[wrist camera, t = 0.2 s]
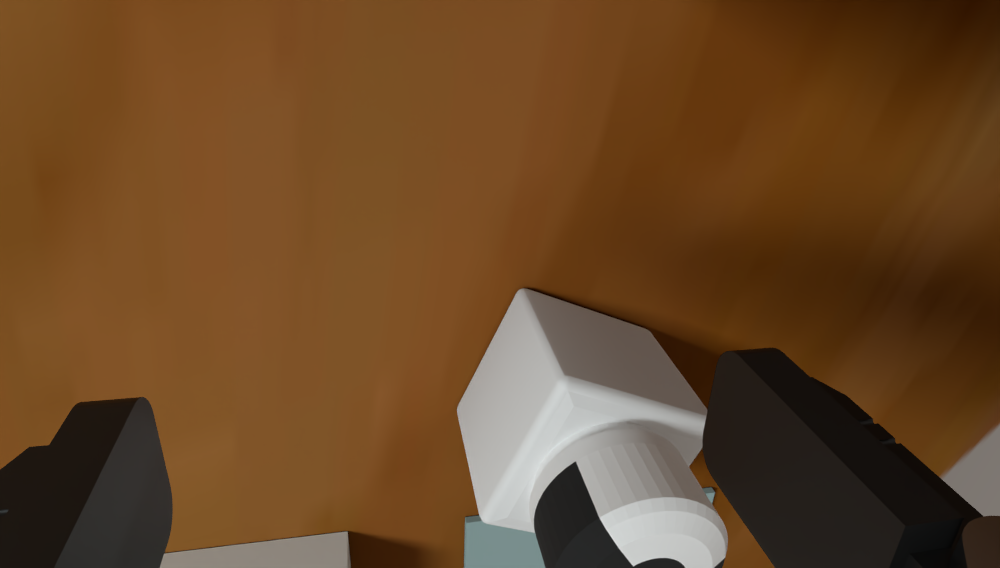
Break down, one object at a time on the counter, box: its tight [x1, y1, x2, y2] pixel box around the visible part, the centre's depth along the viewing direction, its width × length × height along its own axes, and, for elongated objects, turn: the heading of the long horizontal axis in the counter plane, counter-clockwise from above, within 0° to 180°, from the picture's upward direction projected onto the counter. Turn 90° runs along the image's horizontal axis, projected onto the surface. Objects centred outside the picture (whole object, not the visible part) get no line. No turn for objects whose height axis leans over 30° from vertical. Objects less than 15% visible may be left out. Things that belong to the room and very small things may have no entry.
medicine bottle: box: [457, 288, 728, 568], centre depth 26 cm, size 7×7×12 cm
